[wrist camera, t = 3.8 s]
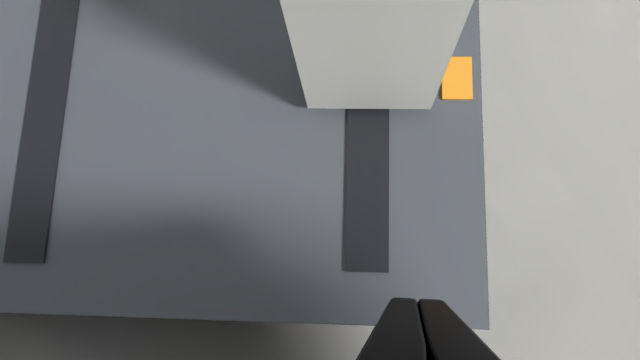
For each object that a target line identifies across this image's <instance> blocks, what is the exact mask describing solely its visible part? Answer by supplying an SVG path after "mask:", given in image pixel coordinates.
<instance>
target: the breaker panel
mask: <svg viewBox="0 0 640 360" xmlns="http://www.w3.org/2000/svg"><path fill="white" fill-rule="evenodd" d="M394 297H399V298H414V299H415V300H416V301H417V302H418V300H420V299H438V300H443V301H444V302H446V303H447V304H448V305H449V307H450V308H451V309H452V310H453V311H454V312H455V313H456V314H457V315H458V316H459V317H460V318H461V319H462V320H463V321H464V322H465V323H466V324H467V325H468V326H469V327H470V328H471V329H485V330H489V302H488V272H487V242H486V211H485V181H484V151H483V121H482V91H481V61H480V30H479V0H474V2H473V4H472V7H471V9H470V12H469V14H468V17H467V19H466V22H465V24H464V27H463V29H462V32H461V34H460V37H459V39H458V42H457V44H456V47H455V49H454V52H453V54H452V57H451V60H450V62H449V65H448V67H447V70H446V72H445V75H444V77H443V80H442V82H441V85H440V87H439V90H438V92H437V95H436V97H435V100H434V102H433V105H432V107H431V109H323V108H308V107H307V103H306V99H305V95H304V92H303V88H302V84H301V80H300V76H299V72H298V69H297V65H296V61H295V57H294V53H293V50H292V46H291V42H290V38H289V34H288V30H287V27H286V23H285V19H284V15H283V11H282V7H281V4H280V0H0V313H23V314H52V315H81V316H110V317H139V318H168V319H196V320H225V321H254V322H283V323H312V324H341V325H370V326H376V324H377V322H378V320H379V319H380V317H381V315H382V313H383V312H384V310H385V308H386V306H387V305H388V303H389V301H390V300H391V299H392V298H394Z"/></svg>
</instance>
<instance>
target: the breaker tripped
mask: <svg viewBox="0 0 640 360" xmlns="http://www.w3.org/2000/svg"><path fill="white" fill-rule="evenodd" d="M473 2H474V0H280V4H281V7H282V11H283V15H284V19H285V23H286V27H287V30H288V34H289V38H290V42H291V46H292V50H293V53H294V57H295V61H296V65H297V69H298V72H299V76H300V80H301V84H302V88H303V92H304V95H305V99H306V103H307V107H308V108H323V109H431V107H432V105H433V102H434V100H435V97H436V95H437V92H438V90H439V87H440V85H441V82H442V80H443V77H444V75H445V72H446V70H447V67H448V65H449V62H450V60H451V57H452V54H453V52H454V49H455V47H456V44H457V42H458V39H459V37H460V34H461V32H462V29H463V27H464V24H465V22H466V19H467V17H468V14H469V12H470V9H471V7H472V4H473Z"/></svg>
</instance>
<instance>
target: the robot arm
mask: <svg viewBox="0 0 640 360" xmlns="http://www.w3.org/2000/svg"><path fill="white" fill-rule="evenodd" d="M356 360H501V359H500V358H499V357H498V356H497V355H496V354H495V353H494V352H493V351H492V350H491V349H490V348H489V347H488V346H487V345H486V344H485V343H484V342H483V341H482V340H481V339H480V338H479V337H478V336H477V335H476V334H475V332H474V331H473V330H472V329H471V328H470V327H469V326H468V325H467V324H466V323H465V322H464V321H463V320H462V319H461V318H460V317H459V316H458V315H457V314H456V313H455V312H454V311H453V310H452V309H451V308H450V307H449V305H448V304H447V303H446V302H444V301H443V300H438V299H420V300H418V302H417V301H416V300H415V299H414V298H399V297H394V298H392V299H391V300H390V301H389V303H388V305H387V306H386V308H385V310H384V312H383V313H382V315H381V317H380V319H379V320H378V322H377V324H376V326H375V327H374V329H373V331H372V333H371V334H370V336H369V338H368V340H367V341H366V343H365V345H364V347H363V348H362V350H361V352H360V354H359V355H358V357H357V359H356Z"/></svg>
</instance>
